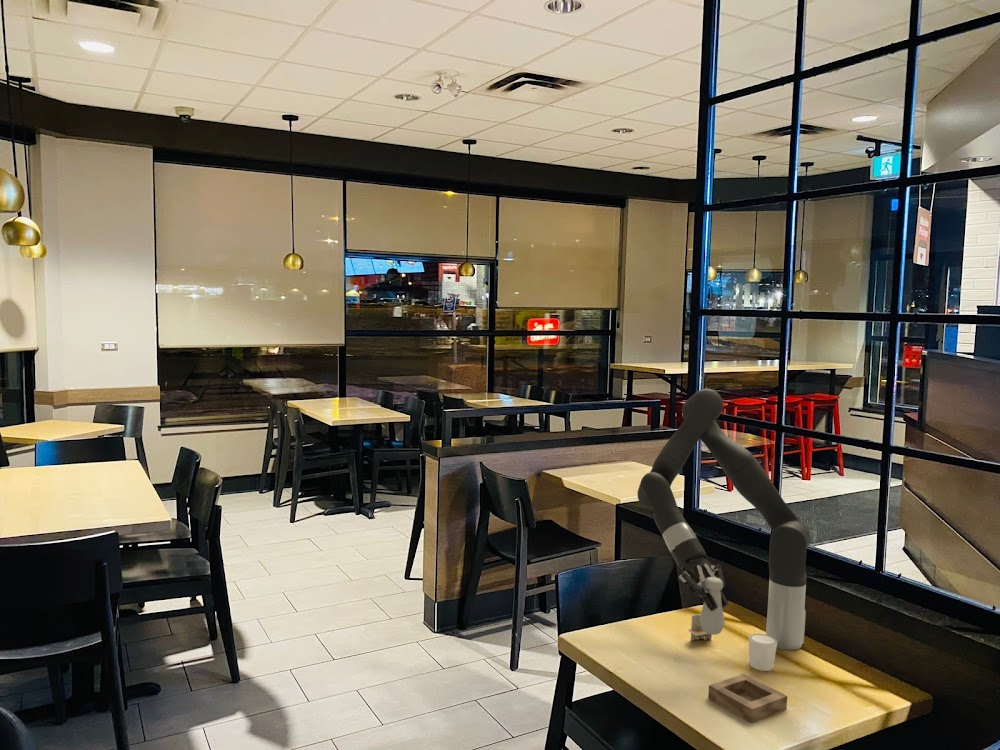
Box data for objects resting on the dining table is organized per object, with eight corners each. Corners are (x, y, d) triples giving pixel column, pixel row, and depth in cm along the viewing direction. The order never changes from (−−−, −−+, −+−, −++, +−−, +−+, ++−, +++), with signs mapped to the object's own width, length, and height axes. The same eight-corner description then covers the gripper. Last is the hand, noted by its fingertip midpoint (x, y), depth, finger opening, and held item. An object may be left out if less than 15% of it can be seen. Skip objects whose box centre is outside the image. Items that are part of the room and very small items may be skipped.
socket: (743, 685, 177) (743, 673, 177) (786, 708, 167) (787, 695, 167) (708, 698, 170) (708, 685, 170) (751, 722, 160) (752, 709, 160)
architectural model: (715, 643, 202) (716, 617, 201) (695, 647, 198) (697, 620, 198) (706, 638, 205) (708, 612, 204) (686, 642, 202) (688, 615, 201)
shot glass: (776, 663, 190) (778, 636, 189) (774, 674, 184) (776, 646, 183) (748, 657, 193) (750, 631, 192) (745, 668, 186) (747, 640, 186)
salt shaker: (725, 637, 177) (727, 583, 176) (700, 634, 178) (702, 581, 177) (722, 627, 182) (724, 575, 181) (698, 625, 184) (700, 573, 183)
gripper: (694, 548, 194) (730, 609, 184) (655, 556, 186) (690, 620, 176) (711, 533, 189) (748, 595, 179) (671, 540, 181) (708, 606, 172)
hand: (719, 607), depth 178 cm, fingers closed on salt shaker, 3 cm apart
